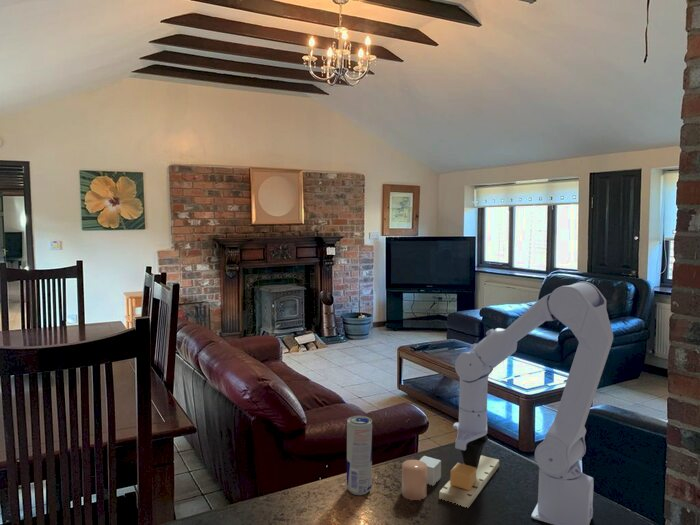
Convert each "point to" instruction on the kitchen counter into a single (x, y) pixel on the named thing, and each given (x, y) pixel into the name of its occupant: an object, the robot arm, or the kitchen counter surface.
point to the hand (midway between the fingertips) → (471, 469)
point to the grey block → (432, 469)
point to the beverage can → (359, 455)
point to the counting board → (465, 496)
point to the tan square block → (463, 476)
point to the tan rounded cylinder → (414, 480)
